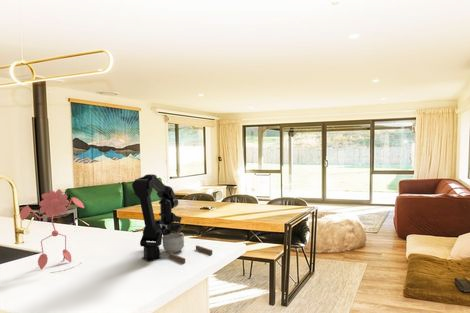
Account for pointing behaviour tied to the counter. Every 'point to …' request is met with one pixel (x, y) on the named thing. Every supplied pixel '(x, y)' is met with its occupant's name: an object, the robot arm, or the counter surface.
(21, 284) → the counter surface
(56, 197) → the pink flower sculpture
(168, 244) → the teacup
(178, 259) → the guide rails
